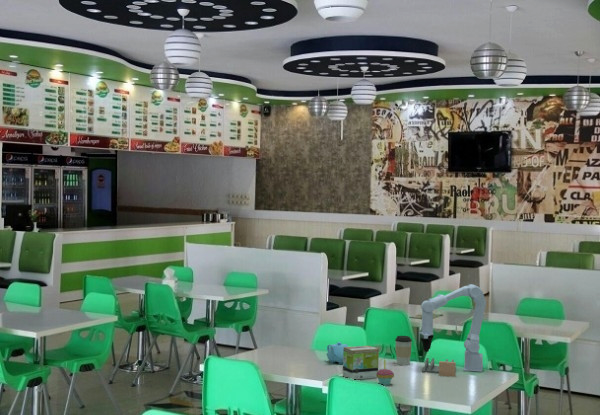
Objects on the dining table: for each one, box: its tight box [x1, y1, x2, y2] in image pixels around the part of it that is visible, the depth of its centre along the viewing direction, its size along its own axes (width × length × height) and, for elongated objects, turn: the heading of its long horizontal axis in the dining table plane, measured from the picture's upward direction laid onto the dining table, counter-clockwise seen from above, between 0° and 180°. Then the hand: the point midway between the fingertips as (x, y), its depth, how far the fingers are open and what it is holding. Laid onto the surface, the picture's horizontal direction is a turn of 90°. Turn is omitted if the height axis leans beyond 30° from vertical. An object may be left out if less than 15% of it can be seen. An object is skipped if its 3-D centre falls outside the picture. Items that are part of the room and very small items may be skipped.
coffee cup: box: [394, 335, 413, 366], centre depth 418 cm, size 9×9×15 cm
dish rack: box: [421, 357, 455, 374], centre depth 402 cm, size 16×14×5 cm
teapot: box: [326, 341, 349, 365], centre depth 419 cm, size 13×14×11 cm
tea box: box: [342, 345, 380, 380], centre depth 384 cm, size 15×10×15 cm, turn 117°
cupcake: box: [376, 359, 395, 386], centre depth 370 cm, size 9×8×12 cm
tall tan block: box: [438, 360, 457, 378], centre depth 389 cm, size 8×2×7 cm, turn 75°
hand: (427, 350), depth 404 cm, fingers open, 7 cm apart
